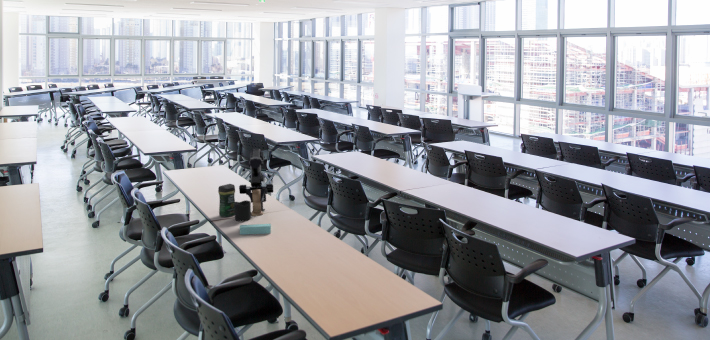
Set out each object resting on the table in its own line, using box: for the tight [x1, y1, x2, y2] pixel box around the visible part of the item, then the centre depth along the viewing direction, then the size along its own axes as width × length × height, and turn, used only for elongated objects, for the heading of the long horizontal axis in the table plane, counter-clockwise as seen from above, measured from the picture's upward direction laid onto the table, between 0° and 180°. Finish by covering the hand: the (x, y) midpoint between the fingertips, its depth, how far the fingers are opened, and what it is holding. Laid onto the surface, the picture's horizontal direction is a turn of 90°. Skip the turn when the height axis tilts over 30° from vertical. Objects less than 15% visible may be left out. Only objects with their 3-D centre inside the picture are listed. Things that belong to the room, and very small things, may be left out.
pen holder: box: [234, 200, 252, 222], centre depth 312 cm, size 9×9×10 cm
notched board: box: [239, 223, 272, 236], centre depth 293 cm, size 12×16×4 cm
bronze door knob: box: [251, 189, 264, 217], centre depth 301 cm, size 6×6×14 cm
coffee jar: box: [217, 183, 236, 218], centre depth 319 cm, size 10×8×19 cm
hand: (256, 202), depth 300 cm, fingers closed on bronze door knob, 5 cm apart
